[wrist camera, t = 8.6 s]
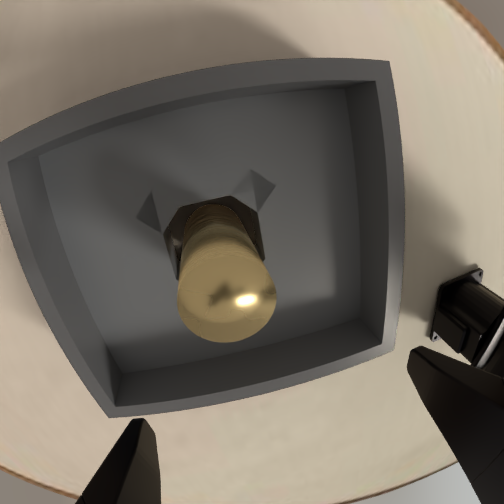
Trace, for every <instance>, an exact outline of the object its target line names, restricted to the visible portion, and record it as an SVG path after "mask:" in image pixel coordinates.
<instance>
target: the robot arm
mask: <svg viewBox="0 0 504 504" xmlns="http://www.w3.org/2000/svg"><path fill="white" fill-rule="evenodd" d="M482 276H483V270H482V269H481V268H478V269H476V270H473V271H471V272H469V273H467V274H465V275H462V276H460V277H458V278H455V279H453V280H451V281H449V282H446V283H444V284H442V285H441V286H440V288H439V292H438V299H437V304H436V310H435V315H434V320H433V325H432V330H431V334H430V340H431V341H432V342H434V341H437V340H438V339H440V338H442V339H443V340H444V341H445V342H446V343H447V344H448V345H449V346H450V347H451V348H452V349H453V350H454V351H455V352H456V353H461V354H462V355H463V356H464V357H465V358H466V359H467V360H468V361H469V362H470V363H471V365H468V364H466V363H463V362H461V361H458V360H456V359H453V358H451V357H448V356H446V355H443V354H441V353H438V352H436V351H433V350H431V349H428V348H426V347H424V346H418V347H416V348H414V349H412V350H411V351H410V355H409V359H408V363H407V371H408V373H409V375H410V377H411V379H412V381H413V383H414V385H415V387H416V389H417V391H418V393H419V396H420V398H421V400H422V402H423V403H424V405H425V407H426V409H427V410H428V412H429V413H430V415H431V417H432V418H433V420H434V421H435V423H436V425H437V426H438V428H439V430H440V431H441V433H442V435H443V436H444V438H445V440H446V441H447V443H448V445H449V446H450V448H451V450H452V451H453V453H454V455H455V457H456V458H457V460H458V462H459V463H460V465H461V467H462V469H463V470H464V472H465V474H466V476H467V478H468V479H469V481H470V483H471V485H472V487H473V489H474V491H475V493H476V495H477V496H478V498H479V500H480V502H481V504H504V299H503V298H501V297H500V296H498V295H497V294H495V293H494V292H492V291H491V290H489V289H488V288H486V287H485V286H483V285H482V284H481V281H482ZM75 504H161V480H160V469H159V461H158V453H157V444H156V436H155V433H154V431H153V430H152V428H151V427H150V425H149V424H148V422H147V421H146V420H145V419H144V418H137V419H132V420H131V421H130V423H129V424H128V426H127V427H126V429H125V430H124V432H123V433H122V435H121V436H120V438H119V439H118V440H117V442H116V443H115V445H114V446H113V448H112V449H111V451H110V452H109V454H108V455H107V457H106V458H105V460H104V461H103V463H102V464H101V466H100V467H99V469H98V470H97V472H96V473H95V475H94V476H93V478H92V479H91V481H90V482H89V484H88V485H87V487H86V488H85V490H84V491H83V493H82V495H81V496H80V497H79V498H78V500H77V502H76V503H75Z"/></svg>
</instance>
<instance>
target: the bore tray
mask: <svg viewBox="0 0 504 504" xmlns="http://www.w3.org/2000/svg"><path fill="white" fill-rule="evenodd" d="M229 195H231V196H233V197H235V198H236V199H238V200H239V201H241V202H242V203H244V204H245V205H247V206H248V207H250V210H251V216H252V221H253V227H254V233H255V238H256V244H255V246H254V247H255V249H256V250H257V252H258V254H259V256H260V258H261V260H262V261H263V263H264V265H265V267H266V269H267V271H268V273H269V274H270V276H271V278H272V280H273V282H274V285H275V288H276V296H277V298H276V306H275V309H274V312H273V314H272V316H271V318H270V319H269V321H268V322H267V323H266V325H265V326H264V327H263V328H262V329H260V330H259V331H258V332H257V333H255V334H254V335H252V336H250V337H248V338H245V339H243V340H239V341H235V342H227V343H222V342H213V341H209V340H206V339H203V338H201V337H199V336H197V335H196V334H194V333H193V332H192V331H191V330H189V329H188V328H187V326H186V325H185V324H184V323H183V321H182V319H181V317H180V315H179V312H178V308H177V293H178V282H179V273H180V263H181V262H179V261H178V258H177V255H176V251H175V248H174V244H173V240H172V237H171V233H170V229H169V223H170V221H171V220H172V218H173V216H174V215H175V213H176V211H177V210H178V208H179V207H181V206H185V205H189V204H193V203H198V202H202V201H207V200H211V199H216V198H220V197H225V196H229ZM0 203H1V207H2V210H3V214H4V217H5V221H6V224H7V227H8V230H9V233H10V236H11V239H12V242H13V245H14V248H15V251H16V253H17V256H18V259H19V261H20V264H21V266H22V269H23V271H24V274H25V276H26V279H27V281H28V283H29V285H30V288H31V290H32V292H33V294H34V297H35V299H36V301H37V303H38V305H39V307H40V309H41V311H42V313H43V315H44V317H45V319H46V321H47V323H48V325H49V327H50V329H51V331H52V332H53V334H54V336H55V338H56V340H57V341H58V343H59V345H60V347H61V348H62V350H63V352H64V353H65V355H66V357H67V358H68V360H69V362H70V363H71V365H72V367H73V368H74V370H75V371H76V373H77V374H78V376H79V377H80V379H81V380H82V382H83V383H84V385H85V386H86V388H87V389H88V391H89V392H90V393H91V395H92V396H93V398H94V399H95V400H96V402H97V403H98V405H99V406H100V407H101V409H102V410H103V411H104V413H105V414H106V415H107V416H108V418H117V417H130V416H141V415H150V414H159V413H167V412H174V411H181V410H187V409H193V408H199V407H205V406H211V405H216V404H221V403H226V402H231V401H235V400H240V399H244V398H249V397H253V396H257V395H261V394H265V393H269V392H273V391H277V390H280V389H284V388H288V387H291V386H295V385H298V384H302V383H305V382H308V381H311V380H315V379H318V378H321V377H324V376H327V375H330V374H333V373H336V372H339V371H342V370H344V369H347V368H350V367H353V366H356V365H358V364H361V363H364V362H366V361H369V360H371V359H374V358H376V357H379V356H381V355H384V354H386V353H389V352H391V351H393V350H394V347H395V340H396V334H397V326H398V319H399V310H400V301H401V290H402V278H403V263H404V238H405V196H404V172H403V156H402V144H401V134H400V125H399V117H398V109H397V102H396V96H395V89H394V83H393V78H392V73H391V67H390V62H389V61H383V60H371V59H353V58H297V59H279V60H266V61H256V62H247V63H239V64H231V65H224V66H218V67H212V68H206V69H201V70H195V71H190V72H186V73H181V74H176V75H172V76H168V77H164V78H160V79H156V80H152V81H148V82H144V83H141V84H137V85H134V86H131V87H127V88H124V89H121V90H118V91H115V92H112V93H109V94H106V95H103V96H100V97H97V98H94V99H92V100H89V101H86V102H84V103H81V104H79V105H76V106H74V107H71V108H69V109H66V110H64V111H62V112H59V113H57V114H55V115H53V116H50V117H48V118H46V119H44V120H42V121H40V122H38V123H36V124H34V125H31V126H29V127H28V128H26V129H24V130H22V131H20V132H18V133H16V134H14V135H12V136H11V137H9V138H7V139H5V140H3V141H2V142H0Z"/></svg>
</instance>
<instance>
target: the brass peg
mask: <svg viewBox="0 0 504 504" xmlns="http://www.w3.org/2000/svg"><path fill="white" fill-rule="evenodd" d="M276 298H277V296H276V288H275V285H274V282H273V280H272V278H271V276H270V274H269V273H268V271H267V269H266V267H265V265H264V263H263V261H262V260H261V258H260V256H259V254H258V252H257V250H256V249H255V247H254V245H253V243H252V241H251V239H250V237H249V236H248V234H247V232H246V230H245V228H244V226H243V224H242V223H241V221H240V219H239V217H238V216H237V214H236V213H235V212H234V211H233V210H231V209H230V208H228V207H226V206H224V205H220V204H209V205H205V206H202V207H200V208H198V209H197V210H195V211H194V212H193V213H192V214H191V215H190V217H189V218H188V220H187V222H186V225H185V230H184V238H183V246H182V255H181V263H180V273H179V282H178V293H177V308H178V312H179V315H180V317H181V319H182V321H183V323H184V324H185V325H186V326H187V328H188V329H189V330H191V331H192V332H193V333H194V334H196V335H197V336H199V337H201V338H203V339H206V340H209V341H213V342H222V343H227V342H235V341H239V340H243V339H245V338H248V337H250V336H252V335H254V334H255V333H257V332H258V331H259V330H260V329H262V328H263V327H264V326H265V325H266V323H267V322H268V321H269V319H270V318H271V316H272V314H273V312H274V309H275V306H276Z"/></svg>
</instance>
